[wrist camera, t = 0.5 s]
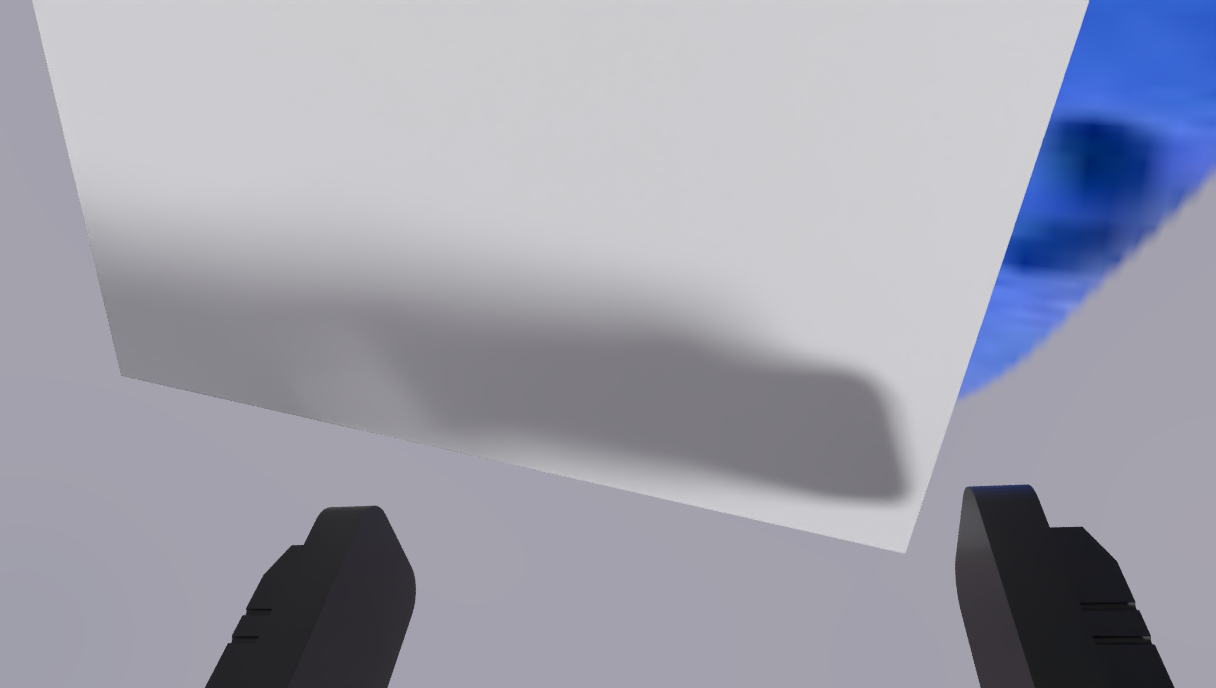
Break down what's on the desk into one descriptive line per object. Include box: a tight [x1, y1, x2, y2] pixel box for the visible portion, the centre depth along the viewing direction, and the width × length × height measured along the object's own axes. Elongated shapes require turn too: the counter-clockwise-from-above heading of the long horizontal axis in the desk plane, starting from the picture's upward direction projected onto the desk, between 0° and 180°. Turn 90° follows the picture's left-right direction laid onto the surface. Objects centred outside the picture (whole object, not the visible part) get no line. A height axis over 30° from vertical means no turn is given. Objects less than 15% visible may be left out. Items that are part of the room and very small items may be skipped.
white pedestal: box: [32, 0, 1089, 553], centre depth 22 cm, size 10×14×24 cm
